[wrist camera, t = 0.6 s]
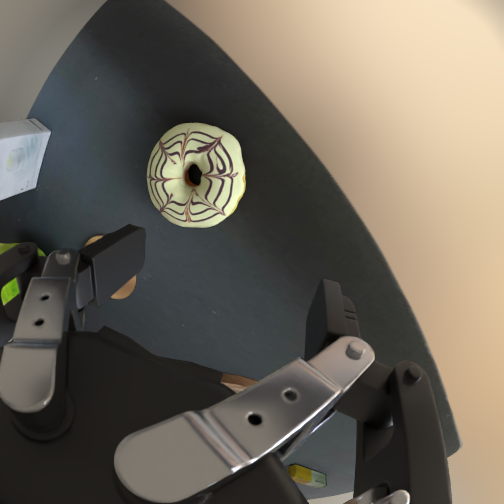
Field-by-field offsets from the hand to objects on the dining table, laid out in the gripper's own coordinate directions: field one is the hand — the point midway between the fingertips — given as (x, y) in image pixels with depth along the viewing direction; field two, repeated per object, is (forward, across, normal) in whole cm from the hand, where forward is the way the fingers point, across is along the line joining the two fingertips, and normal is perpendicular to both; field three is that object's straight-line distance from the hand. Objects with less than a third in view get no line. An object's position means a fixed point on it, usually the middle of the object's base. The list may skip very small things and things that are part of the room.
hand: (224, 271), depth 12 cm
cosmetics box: (+18, +39, 0) cm, 43 cm away
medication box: (+18, -25, +60) cm, 67 cm away
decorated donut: (+18, +8, -1) cm, 20 cm away
